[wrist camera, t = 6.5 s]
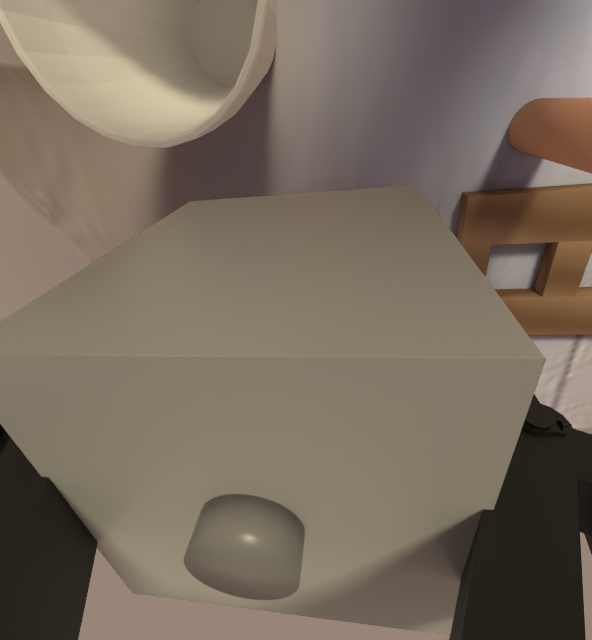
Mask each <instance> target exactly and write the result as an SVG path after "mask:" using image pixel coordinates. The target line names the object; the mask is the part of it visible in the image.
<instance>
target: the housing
mask: <svg viewBox="0 0 592 640" xmlns="http://www.w3.org/2000/svg"><path fill="white" fill-rule="evenodd" d="M545 360H546V359H545V357H544V356H543V355H542V353H541V352H540V351H539V349H538V348H537V347H536V345H535V344H534V343H533V341H532V340H531V338H530V337H529V336H528V334H527V333H526V332H525V330H524V329H523V328H522V326H521V325H520V324H519V322H518V321H517V319H516V318H515V317H514V315H513V314H512V313H511V311H510V310H509V309H508V307H507V306H506V305H505V303H504V302H503V300H502V299H501V298H500V296H499V295H498V294H497V292H496V291H495V290H494V288H493V287H492V286H491V284H490V283H489V281H488V280H487V279H486V277H485V276H484V275H483V273H482V272H481V271H480V269H479V268H478V267H477V265H476V264H475V263H474V261H473V260H472V258H471V257H470V256H469V254H468V253H467V252H466V250H465V249H464V248H463V246H462V245H461V244H460V242H459V241H458V239H457V238H456V237H455V235H454V234H453V233H452V231H451V230H450V229H449V227H448V226H447V225H446V223H445V222H444V220H443V219H442V218H441V216H440V215H439V214H438V212H437V211H436V210H435V208H434V207H433V206H432V204H431V203H430V201H429V200H428V199H427V197H426V196H425V195H424V193H423V192H422V191H421V189H420V188H419V187H418V185H405V186H392V187H378V188H365V189H351V190H338V191H324V192H310V193H297V194H283V195H270V196H256V197H243V198H229V199H215V200H202V201H190V202H188V203H187V204H185V205H184V206H182V207H180V208H179V209H177V210H176V211H174V212H172V213H171V214H169V215H168V216H166V217H165V218H163V219H161V220H160V221H158V222H157V223H155V224H153V225H152V226H150V227H149V228H147V229H146V230H144V231H142V232H141V233H139V234H138V235H136V236H134V237H133V238H131V239H130V240H128V241H127V242H125V243H123V244H122V245H120V246H119V247H117V248H115V249H114V250H112V251H111V252H109V253H108V254H106V255H104V256H103V257H101V258H100V259H98V260H96V261H95V262H93V263H92V264H90V265H89V266H87V267H85V268H84V269H82V270H81V271H79V272H78V273H76V274H74V275H73V276H71V277H70V278H68V279H67V280H65V281H63V282H62V283H60V284H59V285H57V286H55V287H54V288H52V289H51V290H49V291H47V292H46V293H44V294H43V295H41V296H40V297H38V298H36V299H35V300H33V301H32V302H30V303H29V304H27V305H25V306H24V307H22V308H21V309H19V310H17V311H16V312H14V313H13V314H11V315H9V316H8V317H6V318H5V319H3V320H2V321H0V424H1V425H2V427H3V428H4V429H5V431H6V432H7V433H8V434H9V436H10V437H11V438H12V439H13V441H14V442H15V443H16V445H17V446H18V447H19V448H20V450H21V451H22V452H23V454H24V455H25V456H26V457H27V459H28V460H29V461H30V463H31V464H32V465H33V466H34V468H35V469H36V470H37V471H38V473H39V474H40V475H41V477H49V479H50V480H51V481H52V483H53V484H54V485H55V487H56V488H57V489H58V491H59V492H60V493H61V494H62V496H63V497H64V498H65V500H66V501H67V502H68V504H69V505H70V506H71V508H72V509H73V510H74V512H75V513H76V514H77V515H78V517H79V518H80V519H81V521H82V522H83V523H84V525H85V526H86V527H87V529H88V530H89V531H90V533H91V534H92V535H93V536H94V538H95V539H96V540H97V542H98V543H97V548H98V550H99V551H100V552H101V553H102V555H103V556H104V557H105V558H106V560H107V561H108V562H109V564H110V565H111V566H112V567H113V569H114V570H115V571H116V573H117V574H118V575H119V576H120V577H121V579H122V580H123V582H124V583H125V584H126V585H127V587H128V588H129V589H130V590H131V592H132V593H135V594H142V595H150V596H157V597H166V598H172V599H180V600H187V601H195V602H203V603H210V604H218V605H225V606H233V607H240V608H248V609H255V610H263V611H271V612H278V613H285V614H293V615H300V616H308V617H315V618H323V619H330V620H339V621H345V622H353V623H360V624H368V625H375V626H383V627H390V628H398V629H406V630H413V631H421V632H428V633H436V634H443V635H450V634H451V629H452V623H453V618H454V613H455V608H456V602H457V597H458V592H459V586H460V581H461V578H462V575H463V571H464V568H465V565H466V562H467V559H468V556H469V552H470V549H471V546H472V543H473V540H474V536H475V533H476V530H477V527H478V524H479V520H480V517H481V514H482V511H483V509H487V510H494V507H495V504H496V501H497V499H498V496H499V493H500V490H501V487H502V484H503V481H504V478H505V476H506V473H507V470H508V467H509V464H510V461H511V458H512V455H513V452H514V450H515V447H516V444H517V441H518V438H519V435H520V432H521V429H522V427H523V424H524V421H525V418H526V415H527V412H528V409H529V406H530V404H531V401H532V398H533V395H534V392H535V389H536V386H537V383H538V380H539V378H540V375H541V372H542V369H543V366H544V363H545Z"/></svg>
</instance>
